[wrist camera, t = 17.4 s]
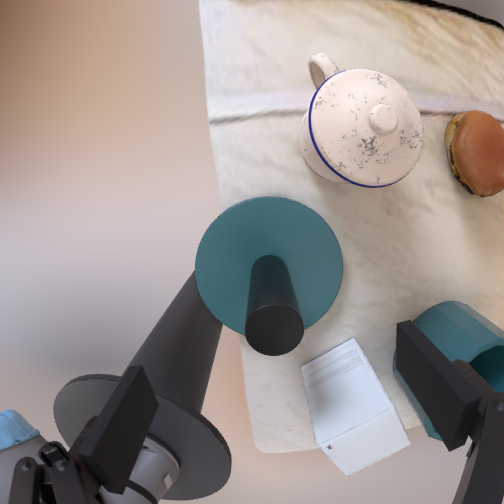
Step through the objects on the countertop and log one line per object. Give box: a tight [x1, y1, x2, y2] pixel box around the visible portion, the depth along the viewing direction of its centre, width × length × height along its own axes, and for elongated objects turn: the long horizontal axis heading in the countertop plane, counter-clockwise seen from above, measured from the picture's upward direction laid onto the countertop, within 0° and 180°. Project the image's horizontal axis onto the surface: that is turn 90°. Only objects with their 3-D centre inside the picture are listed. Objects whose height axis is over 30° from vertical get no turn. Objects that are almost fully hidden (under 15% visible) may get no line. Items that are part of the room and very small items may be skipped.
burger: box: [445, 110, 504, 197], centre depth 25 cm, size 10×9×5 cm
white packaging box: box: [301, 337, 411, 476], centre depth 27 cm, size 7×7×13 cm
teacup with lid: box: [298, 53, 424, 188], centre depth 22 cm, size 12×9×12 cm
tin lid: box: [195, 197, 343, 356], centre depth 24 cm, size 15×15×13 cm
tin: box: [393, 301, 504, 441], centre depth 28 cm, size 14×14×10 cm
